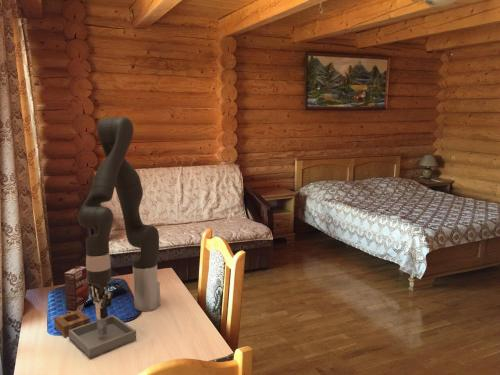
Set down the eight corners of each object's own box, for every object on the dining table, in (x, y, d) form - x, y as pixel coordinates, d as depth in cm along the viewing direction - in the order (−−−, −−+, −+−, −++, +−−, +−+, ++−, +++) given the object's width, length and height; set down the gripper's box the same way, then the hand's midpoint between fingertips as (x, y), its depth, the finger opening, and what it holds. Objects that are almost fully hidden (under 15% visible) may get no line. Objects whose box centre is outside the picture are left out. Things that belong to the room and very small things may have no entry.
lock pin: (105, 328, 145) (103, 292, 142) (111, 332, 142) (109, 295, 140) (93, 332, 142) (91, 295, 140) (99, 337, 139) (96, 299, 137)
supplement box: (77, 313, 161) (74, 274, 158) (65, 312, 162) (63, 273, 159) (90, 304, 169) (87, 266, 166) (79, 302, 170) (76, 265, 167)
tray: (113, 323, 154) (113, 314, 153) (136, 340, 142) (135, 331, 142) (69, 339, 142) (68, 330, 142) (90, 359, 131) (89, 349, 131)
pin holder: (79, 319, 156) (79, 309, 156) (90, 328, 150) (89, 317, 149) (54, 328, 150) (53, 317, 149) (64, 337, 144) (63, 326, 143)
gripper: (119, 269, 136) (122, 319, 139) (99, 258, 145) (102, 305, 148) (97, 275, 130) (100, 327, 133) (78, 263, 140) (81, 312, 143)
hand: (101, 315), depth 141 cm, fingers closed on lock pin, 3 cm apart
